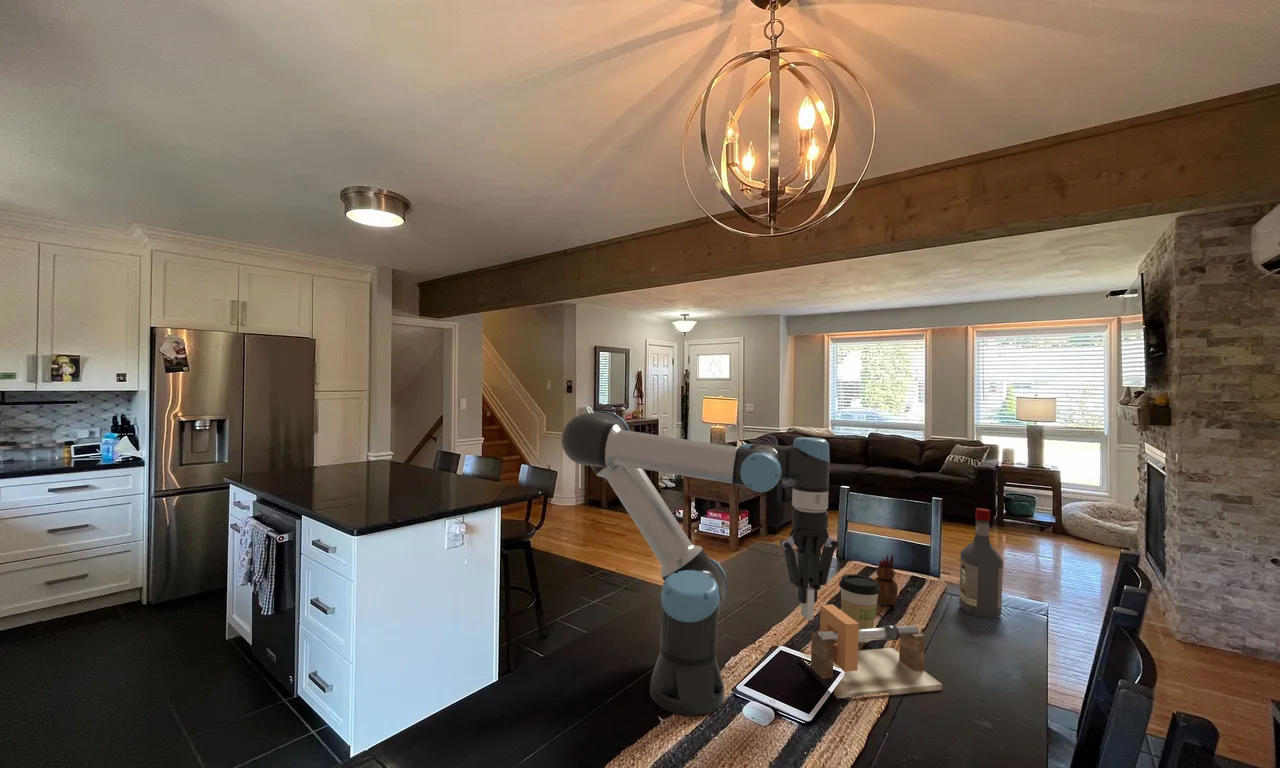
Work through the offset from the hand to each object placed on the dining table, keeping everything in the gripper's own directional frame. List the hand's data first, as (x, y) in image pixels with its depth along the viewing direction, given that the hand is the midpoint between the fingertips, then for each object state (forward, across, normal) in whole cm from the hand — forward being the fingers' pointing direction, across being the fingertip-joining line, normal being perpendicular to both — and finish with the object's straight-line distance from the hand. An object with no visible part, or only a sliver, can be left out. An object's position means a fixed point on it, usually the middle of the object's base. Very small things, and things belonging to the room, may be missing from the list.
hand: (807, 617), depth 117 cm
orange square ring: (+10, +8, 0) cm, 13 cm away
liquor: (+14, +71, +26) cm, 77 cm away
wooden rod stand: (+14, +15, 0) cm, 21 cm away
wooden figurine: (+14, +46, +35) cm, 59 cm away
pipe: (+7, +15, 0) cm, 17 cm away
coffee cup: (+14, +24, +16) cm, 32 cm away
